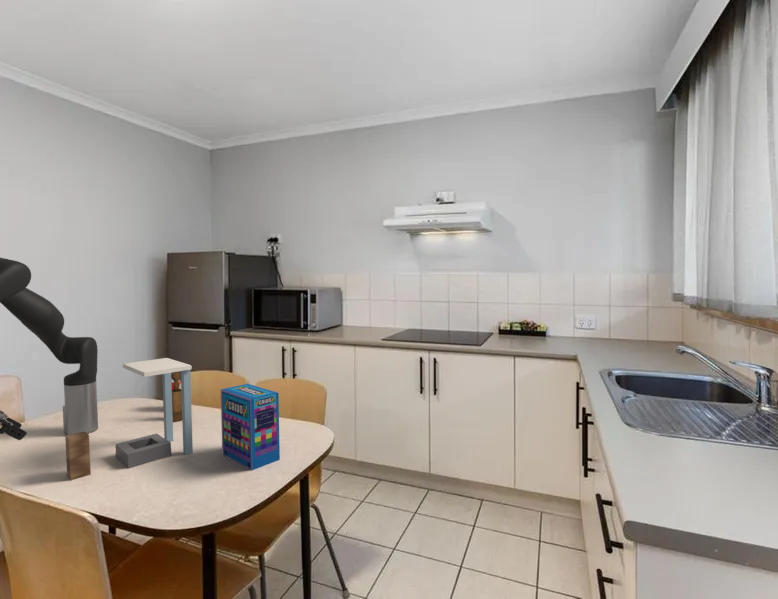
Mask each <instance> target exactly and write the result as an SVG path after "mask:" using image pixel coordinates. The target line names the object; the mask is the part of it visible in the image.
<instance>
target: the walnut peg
mask: <svg viewBox="0 0 778 599" xmlns="http://www.w3.org/2000/svg"><path fill="white" fill-rule="evenodd" d="M64 436H65V454H66V455H65V458H66V459H65V460H66V475H67V478H69V480H70V481H74V480H76V479H77V480H78V479H81V478H85V477H87V476H91V454H90V450H91V449H90V435H89V433H86V432H85V431H84V432H80V433H75V434H71V435H67V434H66V435H64Z"/></svg>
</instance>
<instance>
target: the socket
mask: <svg viewBox="0 0 778 599" xmlns="http://www.w3.org/2000/svg"><path fill="white" fill-rule="evenodd" d="M171 444H172V441H168V440H166V439H164V437H163V436H161V435H160V434H159V433H154V434H149V435H146V436H141V437H137V438H133V439H130V440H125V441H122V442H118V443H115V458H117V459H118V460H119V462H121V463H122V464H123V465H124V466H125V467H126V468H127V469H131V468H134V467H137V466H141V465H144V464H148V463H151V462H154V461H158V460H161V459H165V458H167V457H168V458H169V457H171V456H172V445H171Z"/></svg>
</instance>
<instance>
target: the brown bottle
mask: <svg viewBox="0 0 778 599" xmlns="http://www.w3.org/2000/svg"><path fill="white" fill-rule="evenodd" d="M171 379H173V380H174V384H173V387H174V390H172V416H173V423H174V422H182V393H181V389H179V386H180V384H179V383H178V381H179V379H180V380H181V372H180V371H178V372H172V373H171Z"/></svg>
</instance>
